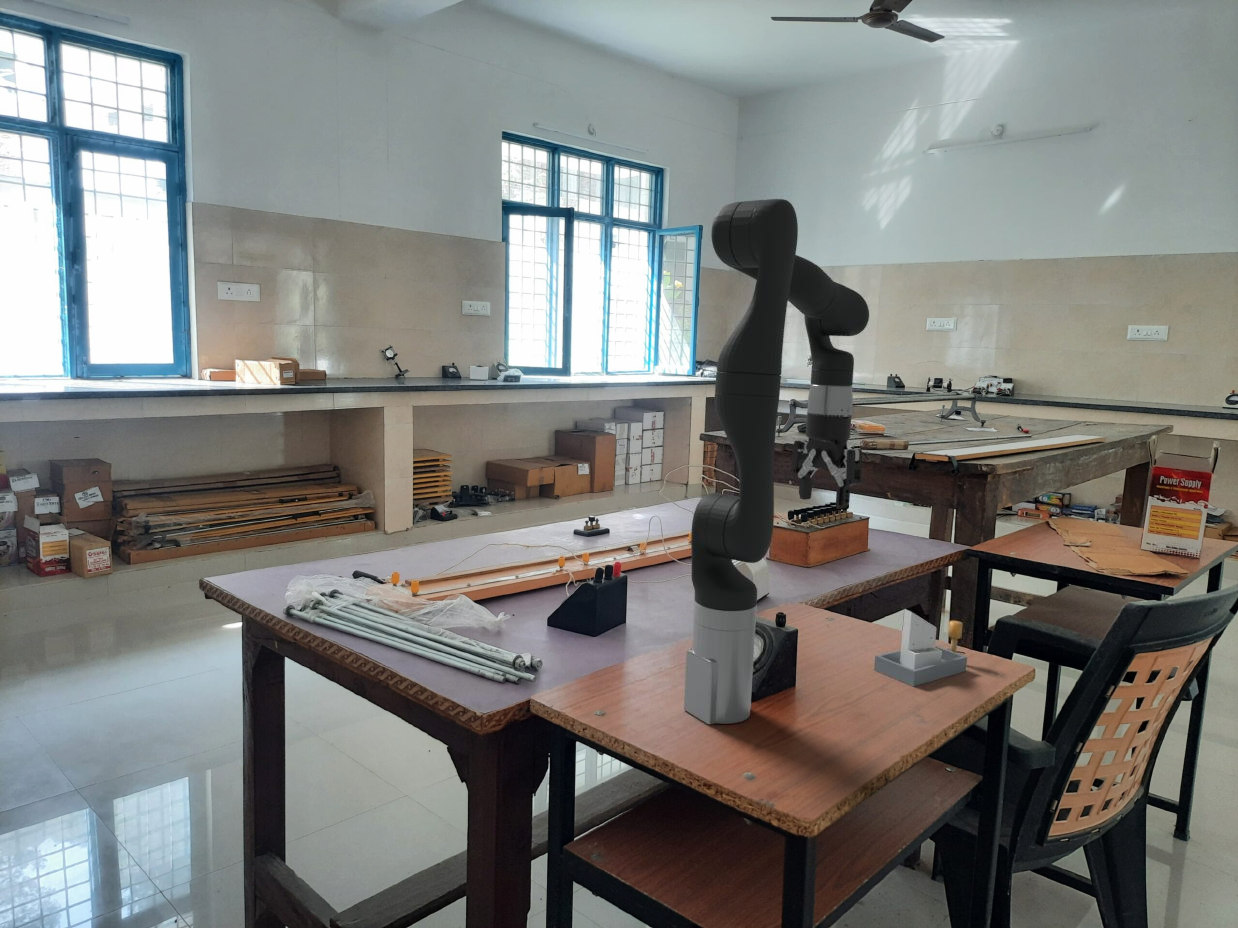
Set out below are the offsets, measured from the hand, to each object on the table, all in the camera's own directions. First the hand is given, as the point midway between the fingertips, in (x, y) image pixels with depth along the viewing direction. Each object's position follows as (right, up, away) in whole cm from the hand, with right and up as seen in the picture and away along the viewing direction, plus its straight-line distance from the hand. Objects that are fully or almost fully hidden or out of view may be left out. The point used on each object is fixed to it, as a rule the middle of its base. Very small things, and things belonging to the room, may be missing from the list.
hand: (823, 503), depth 152 cm
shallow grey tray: (+18, -29, 0) cm, 34 cm away
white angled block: (+17, -29, -1) cm, 33 cm away
